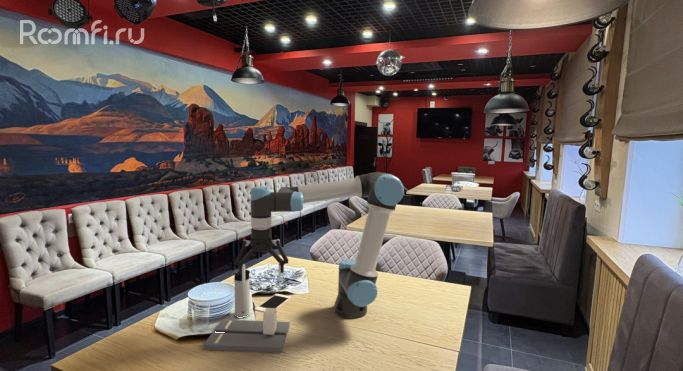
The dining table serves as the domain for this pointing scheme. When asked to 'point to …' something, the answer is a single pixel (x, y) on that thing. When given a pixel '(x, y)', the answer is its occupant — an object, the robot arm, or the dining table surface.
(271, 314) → the slider handle
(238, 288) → the travel mug
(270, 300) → the cell phone
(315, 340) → the dining table surface
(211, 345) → the slider panel
